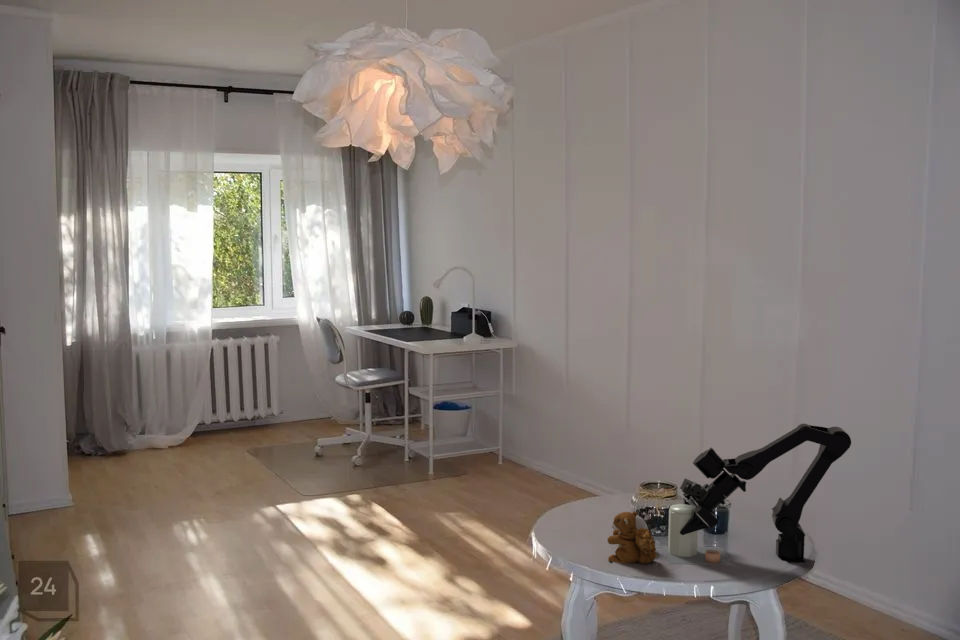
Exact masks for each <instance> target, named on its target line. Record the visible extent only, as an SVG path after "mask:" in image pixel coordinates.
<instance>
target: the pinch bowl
mask: <svg viewBox="0 0 960 640" xmlns="http://www.w3.org/2000/svg"><path fill="white" fill-rule="evenodd" d="M705 561H706V562H708V563H712V564H717V563H720V551H718V550H712V549H709V550H706V551H705Z"/></svg>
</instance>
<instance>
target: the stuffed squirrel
mask: <svg viewBox="0 0 960 640" xmlns="http://www.w3.org/2000/svg"><path fill="white" fill-rule="evenodd" d="M637 515H638V513H637V511H632V512H630V511H623V512H619V513H618V514H616V515H614V517H613V521H612V527H611V528H612V530H613V529H614V525H615V527H616V528H617V529H616V530H614V531H612V535H610V536H608V537H607V539H606V540H607V543H608V544H609V545H617V546H616V549H615V551H614V553H615V554H611V555H609V556H608V557H607V561H609V562H610V563H620V564H635V563H639V564H650V563H652V562H654V561H655V559H656V558H657V556H658V554H657V552H656V550H657V548H656V541H655V540H654V539H655V538H654V537H653V535H652V533H651V531H650V530H649V528H648V529H644V528H641V529H639V530H637V528H636V518H635V517H636V516H637Z"/></svg>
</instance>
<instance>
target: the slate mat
mask: <svg viewBox="0 0 960 640" xmlns="http://www.w3.org/2000/svg"><path fill="white" fill-rule="evenodd" d="M661 547H662V550H663V553H664V554H665V557H666V559H667V562H668V565H669V564H670V565H691V566H692V565H693V566H694V565H697V566H699V565H700V566H730V567H734V563H733V562H732V560H731V558H730V557H729V555H728V553H727V552H726V550H725V548H724V547H716V546H715V547H708V546H697V554H696V555H694V556H691V557H679V556H676V555H673V554H670V553H669V551H668V545H662V546H661ZM709 549H712V550H718V551H720V563H717V564H712V563H708V562H706V561H705V551H706V550H709Z"/></svg>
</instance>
